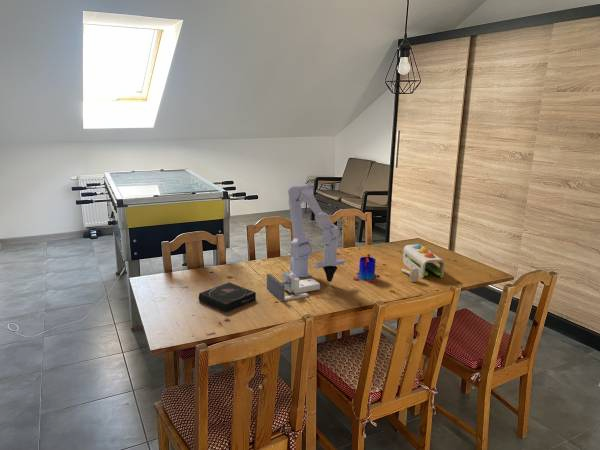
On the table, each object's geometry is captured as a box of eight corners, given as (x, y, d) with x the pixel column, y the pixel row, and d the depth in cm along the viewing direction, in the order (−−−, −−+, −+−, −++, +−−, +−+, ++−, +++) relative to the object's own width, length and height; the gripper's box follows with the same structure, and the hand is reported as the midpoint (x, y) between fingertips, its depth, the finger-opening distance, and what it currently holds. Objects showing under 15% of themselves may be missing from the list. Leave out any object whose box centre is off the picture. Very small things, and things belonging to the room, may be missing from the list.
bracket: (293, 296, 199) (294, 279, 197) (286, 290, 205) (286, 274, 203) (319, 291, 205) (320, 275, 203) (311, 285, 211) (312, 270, 209)
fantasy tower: (376, 284, 214) (378, 259, 211) (351, 280, 218) (353, 256, 214) (380, 275, 225) (382, 252, 222) (357, 272, 228) (358, 249, 225)
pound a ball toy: (389, 263, 243) (391, 241, 240) (422, 262, 246) (424, 240, 243) (411, 283, 216) (413, 259, 213) (447, 281, 219) (450, 257, 216)
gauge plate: (278, 286, 204) (278, 272, 203) (285, 285, 206) (285, 271, 204) (289, 296, 195) (290, 281, 193) (296, 295, 196) (297, 279, 194)
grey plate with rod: (266, 288, 205) (266, 274, 204) (292, 284, 211) (293, 269, 209) (281, 301, 193) (281, 285, 191) (308, 296, 198) (308, 281, 197)
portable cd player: (228, 290, 204) (228, 282, 203) (255, 301, 193) (255, 292, 192) (198, 301, 192) (198, 292, 191) (226, 313, 181) (225, 304, 180)
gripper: (321, 257, 201) (320, 286, 204) (348, 253, 208) (347, 281, 211) (313, 252, 207) (312, 281, 210) (340, 248, 214) (339, 276, 217)
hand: (329, 280), depth 211 cm, fingers closed
